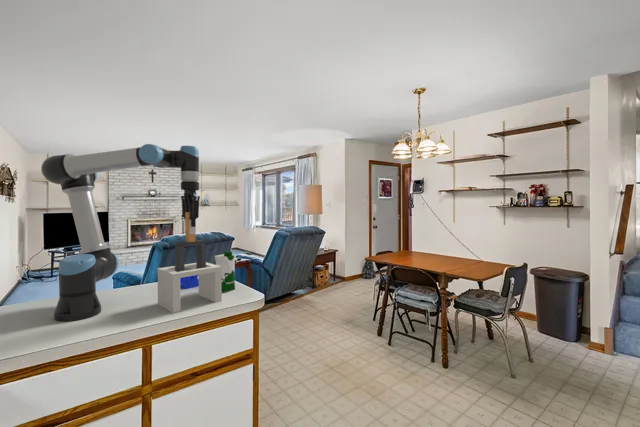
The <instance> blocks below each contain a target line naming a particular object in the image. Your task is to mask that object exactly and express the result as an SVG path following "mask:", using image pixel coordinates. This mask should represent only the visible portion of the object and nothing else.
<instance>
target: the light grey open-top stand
mask: <svg viewBox="0 0 640 427" xmlns="http://www.w3.org/2000/svg"><path fill="white" fill-rule="evenodd" d="M184 269H185V271H180V272H176V271H175V265H174V266H172V265H171V266H164V267H158V268H157V304H158V305H159V306H160V307H162V308H164V309H166V310H167V309H168V310H167V311H169V312H171V313H173V314H174V313H178V312H181V299H182V298H181V296H182V295H181V293H182V292H181V288H180V278H183V277H188V276H194V275H198V283H199V286H198V296H200V297H202V298H205V299H207V300H209V301H211V302H213V303H219V302H221V301H222V297H223V296H222V293H223V292H222V273H221V266H218V265H216V264H214V263H210V262H207V261H206V268H199V269H198V268H197V262H193V263H187V264H186V263H184Z"/></svg>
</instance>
